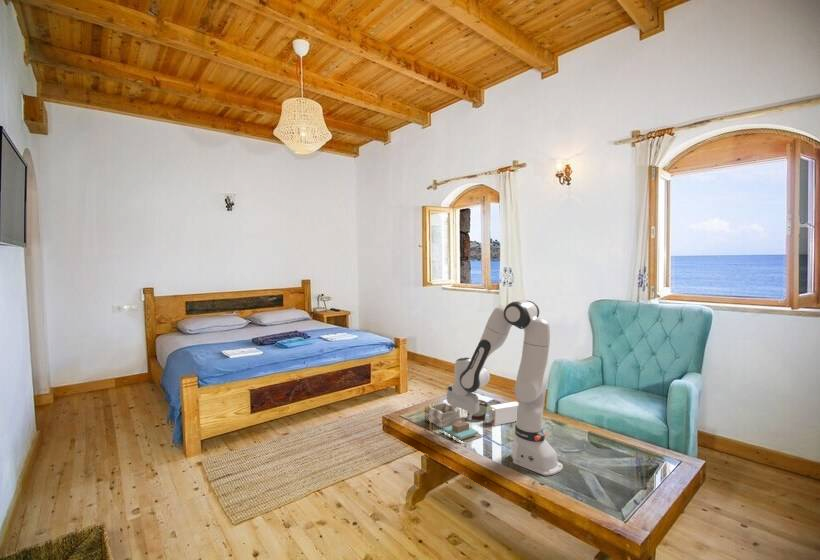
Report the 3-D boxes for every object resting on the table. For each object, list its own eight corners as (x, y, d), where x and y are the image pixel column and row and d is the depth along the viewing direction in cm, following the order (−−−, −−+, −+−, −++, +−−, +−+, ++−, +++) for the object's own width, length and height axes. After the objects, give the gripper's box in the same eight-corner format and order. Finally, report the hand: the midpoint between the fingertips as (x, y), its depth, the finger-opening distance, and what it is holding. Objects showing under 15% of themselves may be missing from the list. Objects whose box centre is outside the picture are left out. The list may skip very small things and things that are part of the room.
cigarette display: (514, 417, 228) (515, 401, 228) (521, 421, 224) (522, 404, 223) (486, 422, 219) (487, 405, 219) (493, 426, 214) (494, 409, 214)
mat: (481, 437, 200) (481, 436, 200) (461, 444, 192) (461, 443, 192) (459, 426, 213) (459, 425, 213) (439, 432, 204) (439, 431, 204)
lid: (478, 435, 201) (478, 425, 201) (460, 441, 193) (460, 431, 193) (460, 426, 211) (461, 417, 211) (442, 432, 203) (443, 422, 203)
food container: (486, 416, 227) (487, 399, 227) (487, 421, 221) (488, 403, 221) (464, 415, 229) (465, 398, 228) (465, 419, 222) (465, 401, 222)
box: (459, 424, 216) (459, 409, 215) (442, 429, 208) (443, 414, 208) (444, 416, 225) (445, 402, 225) (428, 421, 218) (428, 406, 218)
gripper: (482, 393, 195) (482, 421, 195) (453, 383, 211) (453, 409, 211) (473, 396, 191) (473, 424, 191) (444, 385, 207) (444, 412, 207)
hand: (462, 416), depth 201 cm, fingers open, 8 cm apart
